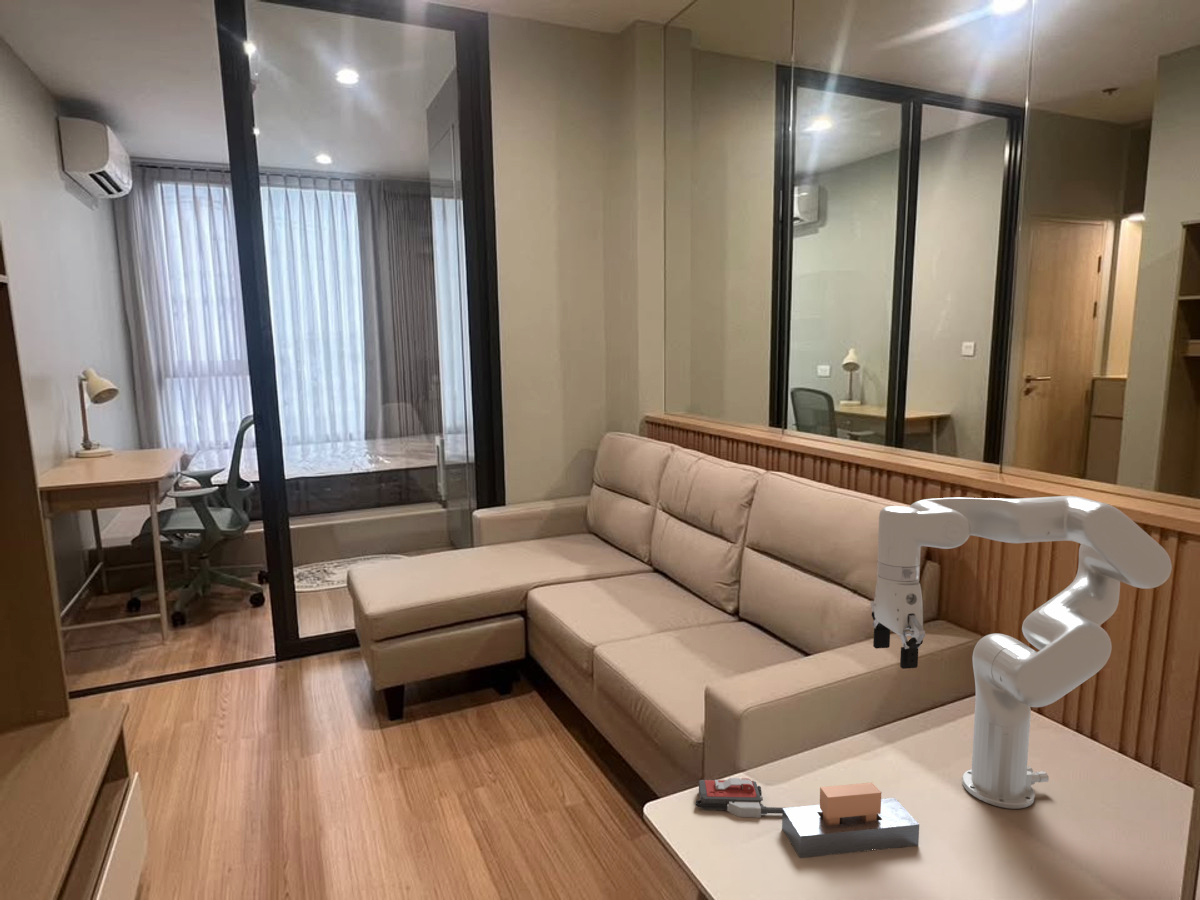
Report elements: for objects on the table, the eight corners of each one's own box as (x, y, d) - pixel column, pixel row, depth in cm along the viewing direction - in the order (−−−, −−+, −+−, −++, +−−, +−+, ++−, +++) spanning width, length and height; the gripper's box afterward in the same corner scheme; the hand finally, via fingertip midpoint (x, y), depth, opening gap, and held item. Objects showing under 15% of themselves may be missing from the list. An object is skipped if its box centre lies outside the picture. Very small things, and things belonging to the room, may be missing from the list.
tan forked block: (870, 828, 131) (872, 782, 130) (879, 839, 128) (881, 792, 127) (818, 833, 130) (820, 787, 129) (826, 845, 127) (828, 797, 126)
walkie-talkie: (696, 818, 135) (803, 821, 134) (696, 797, 135) (804, 799, 134) (692, 791, 144) (793, 793, 143) (692, 770, 143) (793, 772, 142)
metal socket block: (893, 817, 134) (894, 797, 134) (918, 845, 126) (919, 824, 126) (782, 828, 131) (782, 808, 131) (799, 857, 124) (800, 836, 123)
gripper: (943, 583, 128) (939, 674, 130) (892, 558, 145) (888, 639, 147) (904, 585, 127) (901, 677, 129) (857, 560, 144) (854, 641, 146)
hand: (894, 657), depth 138 cm, fingers open, 9 cm apart
